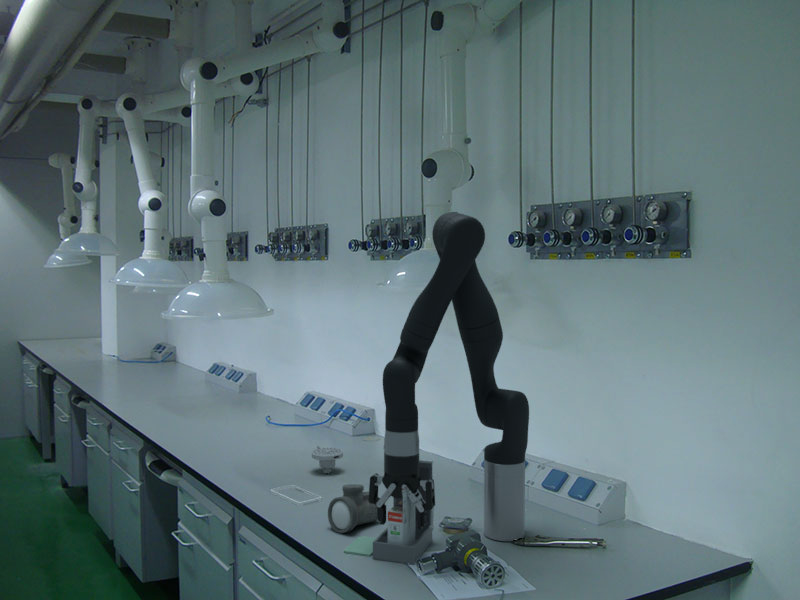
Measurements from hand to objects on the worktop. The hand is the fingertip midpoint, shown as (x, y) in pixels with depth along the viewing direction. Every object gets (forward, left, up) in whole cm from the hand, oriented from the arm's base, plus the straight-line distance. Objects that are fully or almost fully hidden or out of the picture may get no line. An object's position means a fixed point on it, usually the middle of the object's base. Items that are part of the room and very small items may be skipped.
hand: (401, 525), depth 145 cm
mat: (0, -8, -6) cm, 10 cm away
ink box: (0, 0, -6) cm, 6 cm away
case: (-1, 0, -6) cm, 6 cm away
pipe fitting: (-11, -15, -6) cm, 20 cm away
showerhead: (-50, -41, -6) cm, 65 cm away
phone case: (-27, -39, -6) cm, 48 cm away
